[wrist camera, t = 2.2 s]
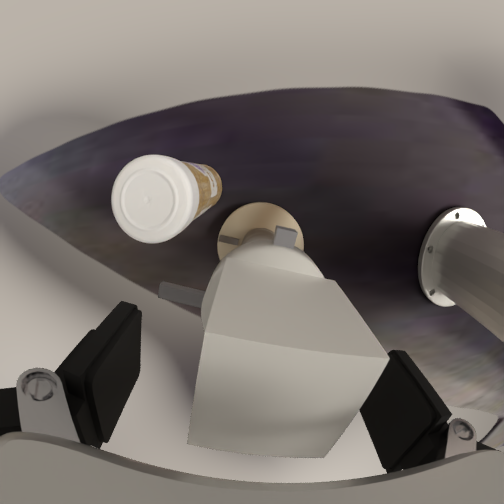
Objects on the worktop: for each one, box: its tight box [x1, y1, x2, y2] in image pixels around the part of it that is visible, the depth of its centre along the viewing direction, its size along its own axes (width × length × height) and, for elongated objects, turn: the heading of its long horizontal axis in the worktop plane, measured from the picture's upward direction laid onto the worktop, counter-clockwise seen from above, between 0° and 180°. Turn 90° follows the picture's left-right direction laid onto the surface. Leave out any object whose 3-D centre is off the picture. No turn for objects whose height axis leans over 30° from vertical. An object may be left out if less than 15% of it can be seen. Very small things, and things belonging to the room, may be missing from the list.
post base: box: [217, 202, 304, 261], centre depth 21 cm, size 8×8×12 cm
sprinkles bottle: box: [111, 155, 222, 243], centre depth 19 cm, size 5×5×14 cm
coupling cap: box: [158, 225, 390, 458], centre depth 11 cm, size 9×8×8 cm
